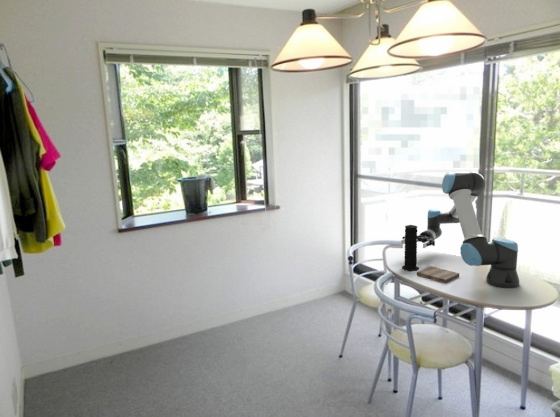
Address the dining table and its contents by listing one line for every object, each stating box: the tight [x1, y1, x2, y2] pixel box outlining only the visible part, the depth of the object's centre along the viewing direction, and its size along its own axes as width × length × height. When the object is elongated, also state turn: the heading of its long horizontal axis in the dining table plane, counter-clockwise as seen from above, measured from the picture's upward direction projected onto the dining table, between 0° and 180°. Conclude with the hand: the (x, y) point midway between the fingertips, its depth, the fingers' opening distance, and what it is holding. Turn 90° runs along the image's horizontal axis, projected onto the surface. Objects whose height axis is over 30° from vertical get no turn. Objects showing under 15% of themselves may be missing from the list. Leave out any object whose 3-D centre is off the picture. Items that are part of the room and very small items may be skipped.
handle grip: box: [401, 224, 420, 272], centre depth 234 cm, size 10×26×10 cm
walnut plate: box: [416, 265, 460, 284], centre depth 222 cm, size 17×14×2 cm
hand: (412, 244), depth 237 cm, fingers open, 13 cm apart
